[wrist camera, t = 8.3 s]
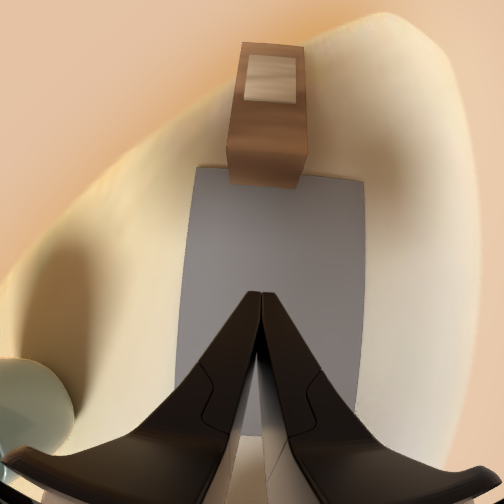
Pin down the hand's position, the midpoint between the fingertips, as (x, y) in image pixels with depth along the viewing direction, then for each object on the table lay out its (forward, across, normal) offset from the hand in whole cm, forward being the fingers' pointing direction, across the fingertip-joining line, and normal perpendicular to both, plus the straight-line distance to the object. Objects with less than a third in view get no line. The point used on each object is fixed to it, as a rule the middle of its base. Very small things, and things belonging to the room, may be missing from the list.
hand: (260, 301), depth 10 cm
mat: (+8, -1, +7) cm, 11 cm away
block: (+11, 0, 0) cm, 11 cm away
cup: (+1, +15, +14) cm, 21 cm away
